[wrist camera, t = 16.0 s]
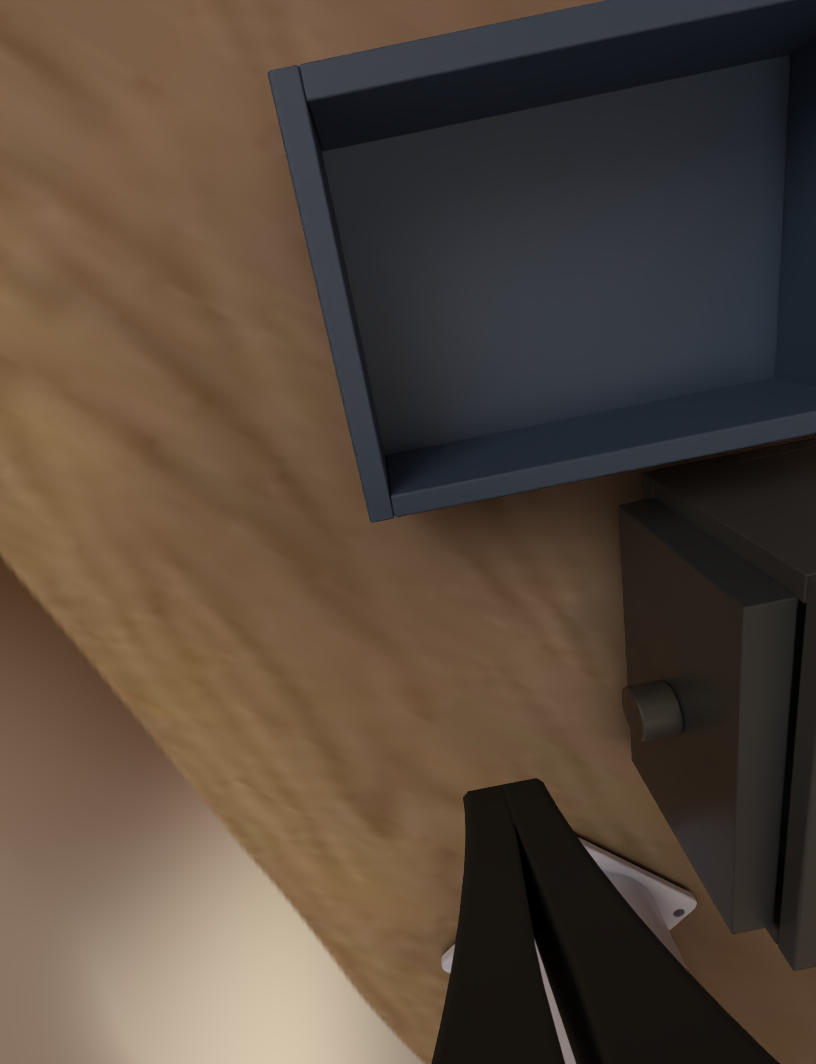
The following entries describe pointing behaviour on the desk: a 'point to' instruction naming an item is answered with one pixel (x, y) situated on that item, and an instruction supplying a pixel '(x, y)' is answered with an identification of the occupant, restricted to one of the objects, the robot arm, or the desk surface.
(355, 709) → the desk surface
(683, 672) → the drawer
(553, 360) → the box
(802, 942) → the cabinet
